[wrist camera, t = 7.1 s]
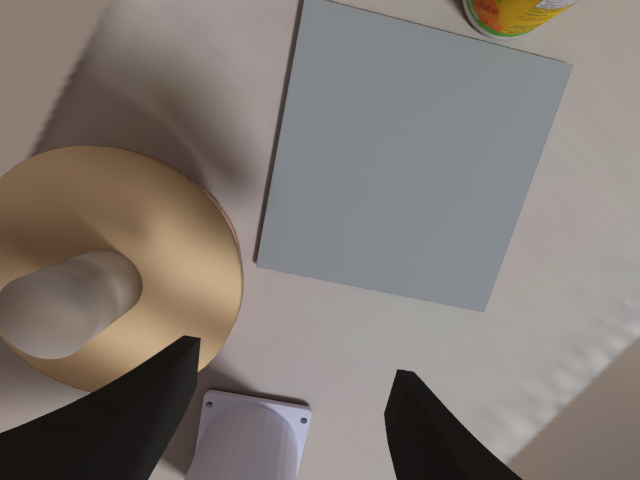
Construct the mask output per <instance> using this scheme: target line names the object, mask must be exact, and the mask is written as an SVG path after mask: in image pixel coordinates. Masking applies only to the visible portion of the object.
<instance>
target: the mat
mask: <svg viewBox="0 0 640 480" xmlns="http://www.w3.org/2000/svg"><path fill="white" fill-rule="evenodd" d="M572 68H573V65H572V64H568V63H564V62H560V61H556V60H553V59H549V58H545V57H541V56H537V55H533V54H530V53H526V52H522V51H518V50H514V49H510V48H507V47H503V46H499V45H495V44H491V43H487V42H483V41H480V40H476V39H472V38H468V37H464V36H460V35H457V34H453V33H449V32H445V31H441V30H437V29H434V28H430V27H426V26H422V25H418V24H414V23H411V22H407V21H403V20H399V19H395V18H391V17H387V16H384V15H380V14H376V13H372V12H368V11H364V10H361V9H357V8H353V7H349V6H345V5H341V4H338V3H334V2H330V1H326V0H304V4H303V10H302V15H301V21H300V26H299V32H298V37H297V43H296V48H295V54H294V59H293V65H292V70H291V76H290V81H289V87H288V92H287V98H286V103H285V109H284V114H283V120H282V126H281V131H280V137H279V142H278V148H277V153H276V159H275V164H274V170H273V175H272V181H271V186H270V192H269V197H268V203H267V208H266V214H265V219H264V225H263V230H262V236H261V241H260V247H259V252H258V258H257V263H256V267H261V268H266V269H271V270H276V271H281V272H286V273H291V274H296V275H301V276H306V277H311V278H316V279H321V280H326V281H331V282H336V283H341V284H346V285H351V286H356V287H361V288H366V289H371V290H376V291H381V292H386V293H391V294H396V295H401V296H406V297H411V298H416V299H421V300H426V301H431V302H436V303H441V304H446V305H451V306H456V307H461V308H466V309H471V310H476V311H481V312H484V311H485V309H486V306H487V303H488V300H489V298H490V295H491V292H492V289H493V286H494V284H495V281H496V278H497V275H498V273H499V270H500V267H501V264H502V262H503V259H504V256H505V253H506V250H507V248H508V245H509V242H510V239H511V237H512V234H513V231H514V228H515V226H516V223H517V220H518V217H519V214H520V212H521V209H522V206H523V203H524V201H525V198H526V195H527V192H528V189H529V187H530V184H531V181H532V178H533V176H534V173H535V170H536V167H537V165H538V162H539V159H540V156H541V153H542V151H543V148H544V145H545V142H546V140H547V137H548V134H549V131H550V129H551V126H552V123H553V120H554V117H555V115H556V112H557V109H558V106H559V104H560V101H561V98H562V95H563V92H564V90H565V87H566V84H567V81H568V79H569V76H570V73H571V70H572Z"/></svg>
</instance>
